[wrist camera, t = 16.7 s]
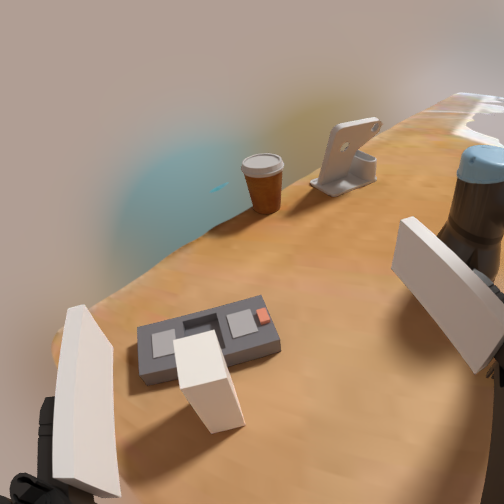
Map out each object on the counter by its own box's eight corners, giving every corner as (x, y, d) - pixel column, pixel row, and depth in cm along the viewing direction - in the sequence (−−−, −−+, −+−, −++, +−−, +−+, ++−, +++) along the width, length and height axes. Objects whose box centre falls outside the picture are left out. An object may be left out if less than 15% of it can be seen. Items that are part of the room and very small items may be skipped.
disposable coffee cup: (288, 216, 71) (284, 167, 64) (245, 219, 72) (238, 171, 65) (286, 196, 78) (283, 151, 71) (248, 198, 79) (241, 154, 72)
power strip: (262, 307, 51) (260, 291, 49) (281, 351, 44) (279, 336, 42) (143, 338, 48) (135, 324, 46) (147, 385, 41) (137, 372, 39)
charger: (234, 386, 40) (214, 328, 32) (245, 425, 36) (227, 377, 28) (202, 394, 40) (172, 339, 32) (211, 433, 35) (180, 389, 27)
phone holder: (354, 167, 88) (355, 109, 77) (379, 180, 81) (383, 117, 70) (308, 183, 83) (305, 118, 72) (333, 198, 75) (333, 127, 64)
